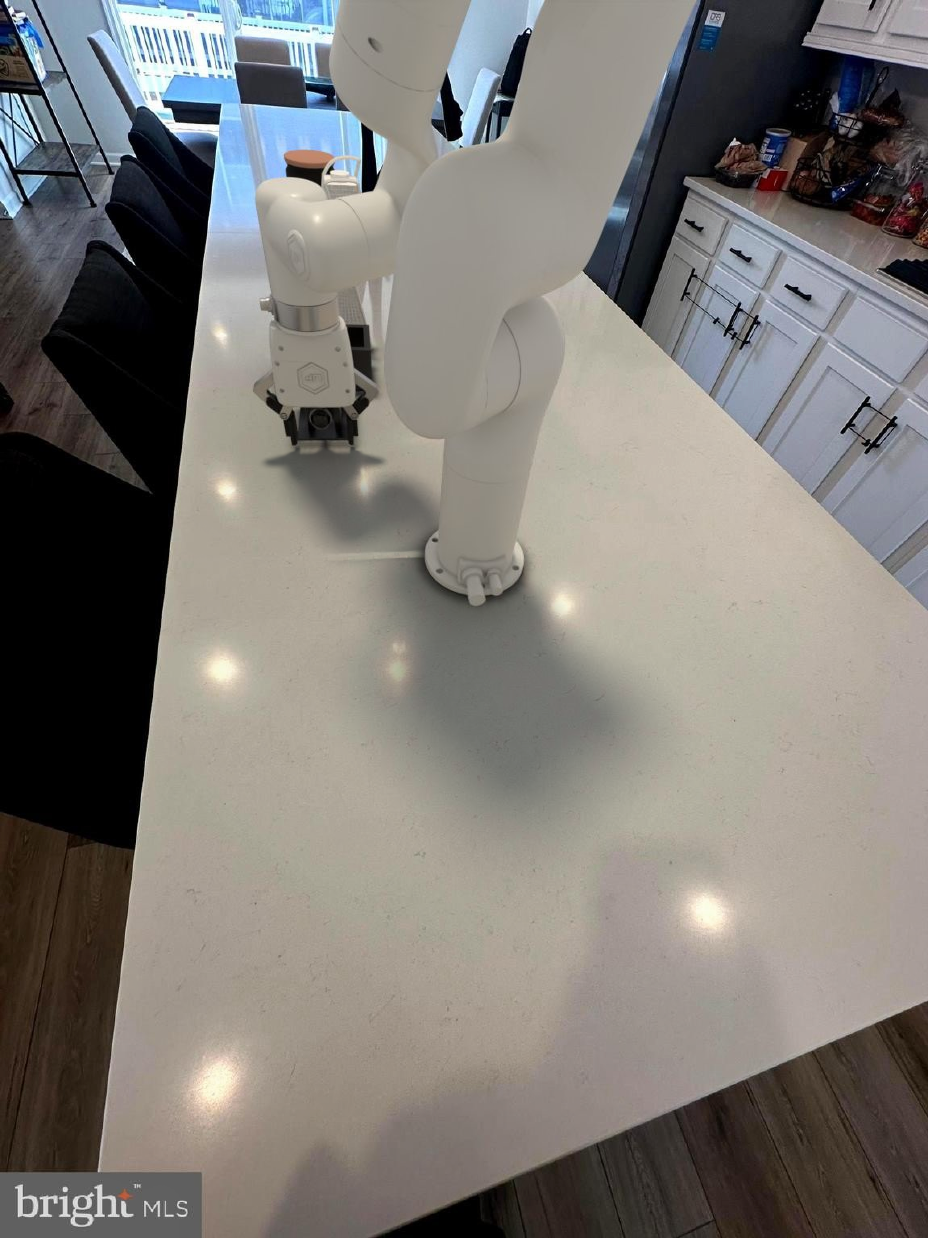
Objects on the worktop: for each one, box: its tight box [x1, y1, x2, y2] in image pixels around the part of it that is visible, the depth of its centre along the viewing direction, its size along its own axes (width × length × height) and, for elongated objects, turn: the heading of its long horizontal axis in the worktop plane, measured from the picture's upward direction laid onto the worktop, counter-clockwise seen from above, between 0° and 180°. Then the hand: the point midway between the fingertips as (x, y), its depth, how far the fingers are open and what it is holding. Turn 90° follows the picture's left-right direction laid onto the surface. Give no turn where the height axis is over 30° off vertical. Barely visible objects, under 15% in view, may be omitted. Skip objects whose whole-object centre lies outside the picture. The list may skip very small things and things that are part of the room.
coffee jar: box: [283, 149, 336, 187], centre depth 125 cm, size 11×11×18 cm
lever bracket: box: [297, 407, 348, 441], centre depth 82 cm, size 9×8×12 cm
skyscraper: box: [321, 154, 374, 351], centre depth 93 cm, size 8×8×28 cm
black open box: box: [282, 324, 373, 393], centre depth 93 cm, size 9×15×8 cm, turn 98°
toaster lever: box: [310, 407, 332, 429], centre depth 79 cm, size 11×3×3 cm, turn 8°
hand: (323, 439), depth 80 cm, fingers open, 7 cm apart
